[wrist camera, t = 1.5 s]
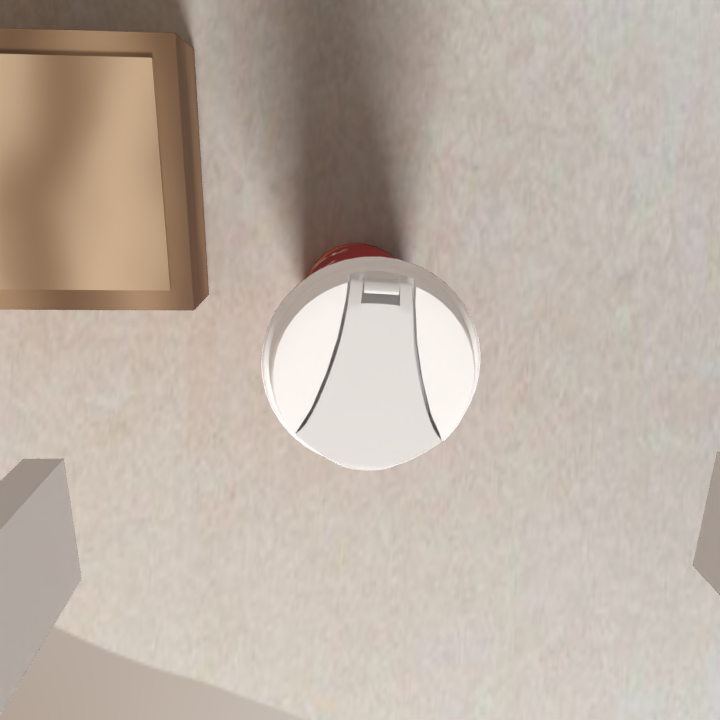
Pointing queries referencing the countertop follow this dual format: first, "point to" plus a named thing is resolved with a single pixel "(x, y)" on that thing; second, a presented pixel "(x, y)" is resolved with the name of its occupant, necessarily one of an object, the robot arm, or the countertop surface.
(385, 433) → the paper cup
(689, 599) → the countertop surface
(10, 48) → the plinth
